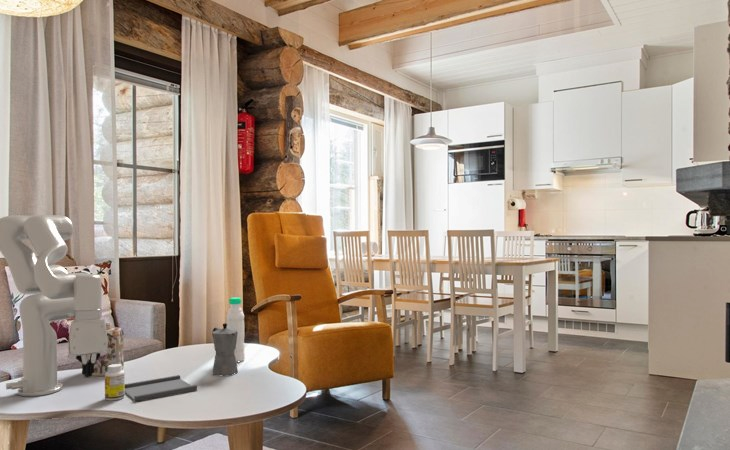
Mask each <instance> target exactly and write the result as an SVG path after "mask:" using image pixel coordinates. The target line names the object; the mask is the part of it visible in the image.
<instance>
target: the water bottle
mask: <svg viewBox="0 0 730 450" xmlns="http://www.w3.org/2000/svg"><path fill="white" fill-rule="evenodd" d="M228 302H229V306H230V308H228V312H227V314H226V316H225V319H226V324H227V328H228V329H234V330H237V331H238V334H237V342H236V349H235V350H234V353H235V358H236V363H239V362H238V361H242V362H243V361H244V360H245V359H246V358H245V347H246V346H245V314H244V311H243V309H242V308H241V304H242V298H241V297H231V298H229V299H228Z"/></svg>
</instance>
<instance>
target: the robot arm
mask: <svg viewBox="0 0 730 450" xmlns="http://www.w3.org/2000/svg"><path fill="white" fill-rule="evenodd" d="M73 234H74V224H73V223H72V220H71V219H70V218H69V217H67V216H65V215H62V214H61V215H58V214H57V215H53V214H51V215H50V214H37V215H22V214H21V215H20V214H19V215H17V214H16V215H7V216H2V217H0V253H1V255H2V256H3V257H4V259H5V260H6V263H7V266H8V268H9V271H10V274H11V276H12V280H13V282H14V285H15V288H16V289H17V291H18V292H19V293H20V294H22V295H28V296H26V297H24V298H23V299H22V300H21V302H20V303H19V307H18V311H19V316H20V320H21V321H20V322H21V326H22V345H23V347H22V350H23V352H22V353H23V356H22V358H23V360H22V362H23V363H22V364H23V365H22V366H23V376H22V377H20V379H21V380H17V381H16V382H8V383H7V382H6V383H5V389H6V391H7V390H17V395H19V396H21V397H38V396H44V395H50V394H54V393H57V392H60V391H62V389H63V383H61V382H58V336H57V332H56V330H55V329H54V328H53V327H52V325H51V323H52V322H57V321H63V320H64V321H65V320H69V319H73V320H71V322H70V326H69V335H68V355H67V358H68V360H77V361H78V362H80V363H81V374H82V375H83V376H84V378H93V377H92V373H94V363H95V361H96V360H97V359H98V358H99V357H100V356H103V355H105V354H107V353H108V352H107V348H108V341H107V329H106V323H107V322H106V320H105V318H104V317H103V316H102V312H103V311H102V310H103V309H102V308H103V307H102V303H103V301H102V298H103V297H102V277H101V275H99V274H96V273H87V272H68V271H67V269H66V268H65V267H63V266H62V265H59V264H56V263H58V262H60V261H61V260H62V259H63V258H65V257H66V255H67V254H68V251H69V247H68V245H67V243H66V242H65V241H67V240H70V239H71V238H72V236H73ZM22 241H29V242H30V244H31V245H32V247H33V248H31V247H29V245H27V244H26V243H24V242H22ZM33 249H34V251H33ZM36 254H37V255H36ZM86 354H90V358H89V362H87V360H86Z"/></svg>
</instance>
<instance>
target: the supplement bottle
mask: <svg viewBox="0 0 730 450" xmlns="http://www.w3.org/2000/svg"><path fill="white" fill-rule="evenodd" d="M107 370H108V372H106V373H105V376H104V399H105V400H107V401H119V400H122V399H123V398H124V397H125V396H126V393H125V384H126V383H125V371H124V370H123V369H122V365H121V364H112V365H109V366H108V369H107Z"/></svg>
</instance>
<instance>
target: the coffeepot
mask: <svg viewBox="0 0 730 450" xmlns="http://www.w3.org/2000/svg"><path fill="white" fill-rule="evenodd" d="M211 334H212V335H211V336H212V341H213V346H214V347H213V348H214V351H215V354H214V360H213V367H212V375H213V374H214V375H213V376H215V375H229V376H233V375H232V374H234V373H236V374H237V373H239V370H238V365H237V362H236V358H235V353H234V350H235V349H236V342H237V334H238V331H237V330H234V329H228V328H227V322H226V323H222V328H220V327H219V328H218V327H214V328H213V329H212V330H211ZM234 375H235V374H234Z"/></svg>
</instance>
